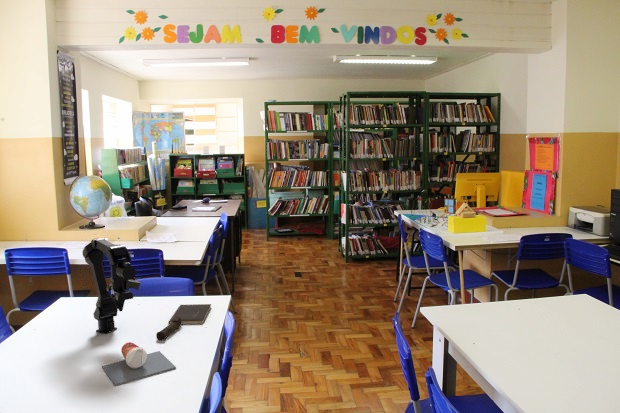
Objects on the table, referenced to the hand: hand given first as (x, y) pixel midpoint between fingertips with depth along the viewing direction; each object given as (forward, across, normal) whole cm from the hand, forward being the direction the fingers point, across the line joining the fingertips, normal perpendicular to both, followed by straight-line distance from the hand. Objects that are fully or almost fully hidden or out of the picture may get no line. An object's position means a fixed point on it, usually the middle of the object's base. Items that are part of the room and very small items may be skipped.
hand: (120, 311), depth 211 cm
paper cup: (+10, -19, +3) cm, 22 cm away
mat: (+13, -31, +3) cm, 34 cm away
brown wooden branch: (+14, -3, -20) cm, 24 cm away
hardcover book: (+14, +11, -36) cm, 40 cm away
